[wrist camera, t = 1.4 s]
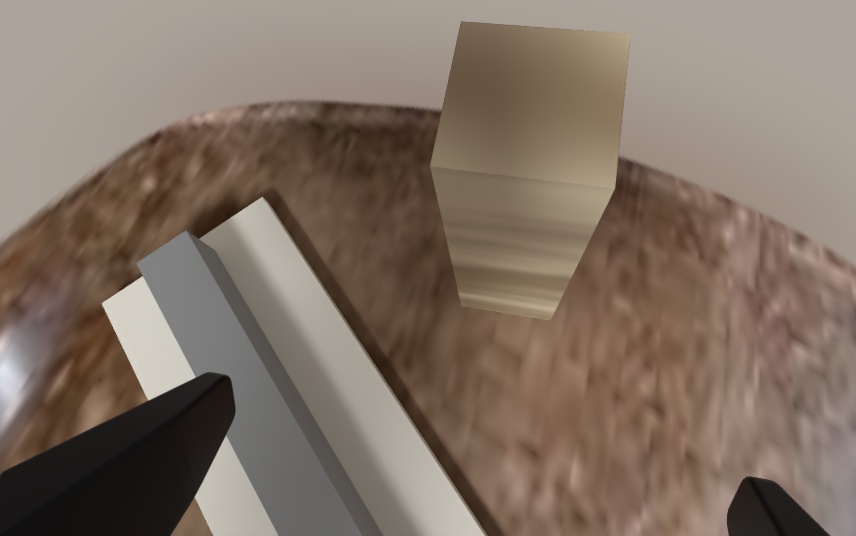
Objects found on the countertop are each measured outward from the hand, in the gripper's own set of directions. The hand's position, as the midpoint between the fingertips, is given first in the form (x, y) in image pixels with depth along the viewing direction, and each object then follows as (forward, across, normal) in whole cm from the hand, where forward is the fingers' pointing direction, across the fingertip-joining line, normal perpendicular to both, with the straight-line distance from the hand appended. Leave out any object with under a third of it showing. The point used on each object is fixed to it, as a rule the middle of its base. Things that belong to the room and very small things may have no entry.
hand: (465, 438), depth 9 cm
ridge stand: (+8, +7, +11) cm, 16 cm away
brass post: (+15, 0, +4) cm, 16 cm away
